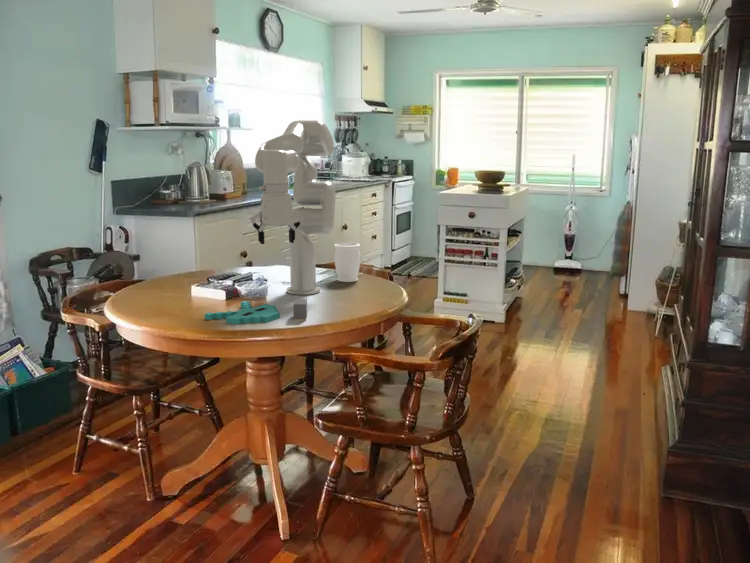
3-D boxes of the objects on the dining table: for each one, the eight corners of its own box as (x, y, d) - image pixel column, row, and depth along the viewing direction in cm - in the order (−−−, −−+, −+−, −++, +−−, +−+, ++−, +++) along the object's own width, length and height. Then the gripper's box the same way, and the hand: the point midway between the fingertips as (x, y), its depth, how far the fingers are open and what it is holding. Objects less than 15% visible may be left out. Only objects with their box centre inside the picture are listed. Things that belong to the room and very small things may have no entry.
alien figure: (204, 320, 220) (253, 328, 211) (204, 313, 220) (253, 322, 210) (245, 307, 237) (291, 314, 228) (244, 301, 237) (291, 308, 227)
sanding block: (295, 315, 225) (294, 299, 224) (307, 315, 225) (306, 299, 224) (293, 321, 218) (293, 304, 217) (306, 320, 218) (305, 304, 217)
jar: (365, 279, 281) (365, 243, 277) (350, 284, 272) (350, 247, 269) (344, 276, 286) (344, 241, 283) (329, 281, 278) (329, 244, 275)
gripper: (251, 190, 210) (253, 245, 213) (305, 189, 216) (306, 243, 219) (246, 189, 216) (247, 242, 220) (298, 188, 223) (299, 240, 226)
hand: (276, 243), depth 219 cm, fingers open, 9 cm apart
